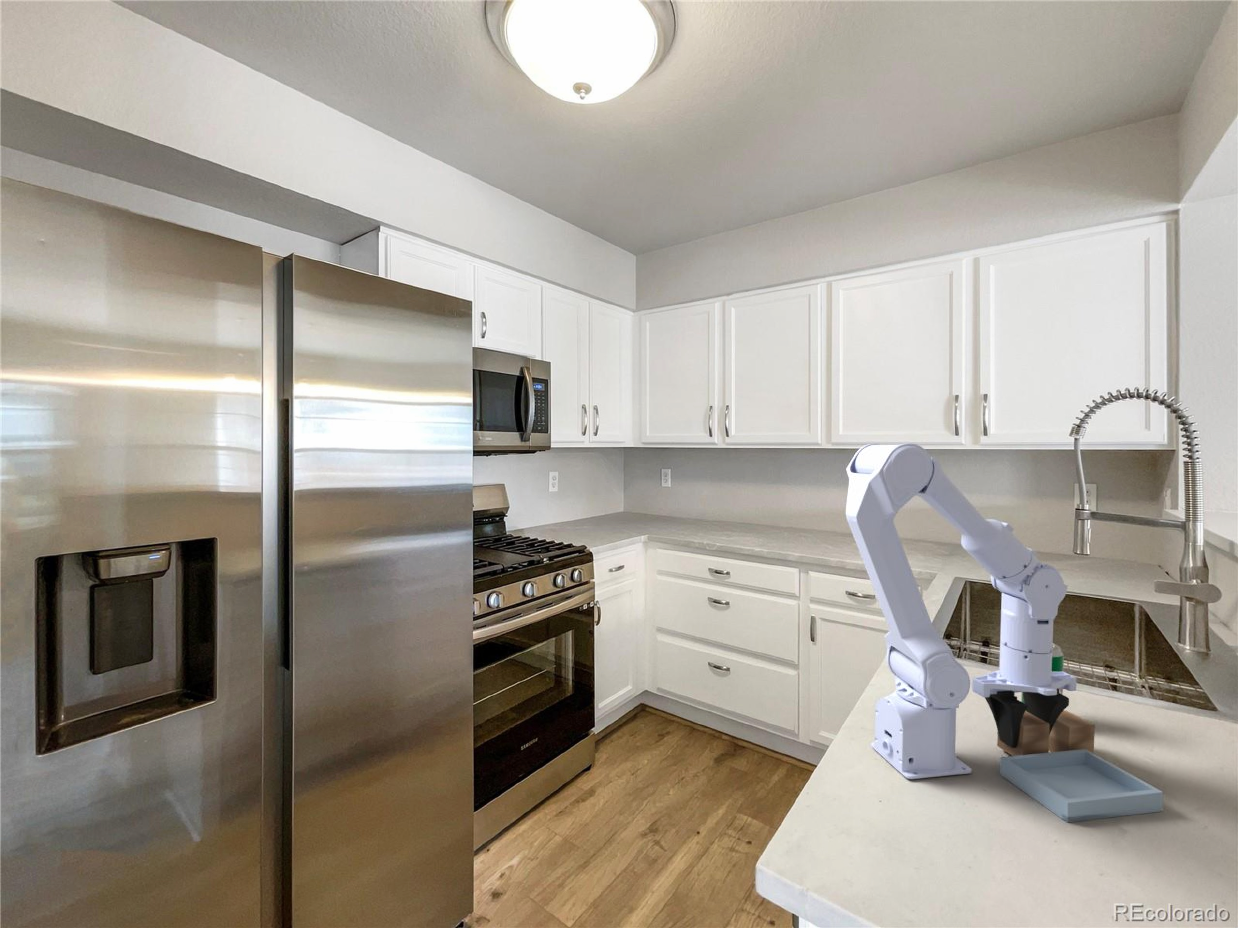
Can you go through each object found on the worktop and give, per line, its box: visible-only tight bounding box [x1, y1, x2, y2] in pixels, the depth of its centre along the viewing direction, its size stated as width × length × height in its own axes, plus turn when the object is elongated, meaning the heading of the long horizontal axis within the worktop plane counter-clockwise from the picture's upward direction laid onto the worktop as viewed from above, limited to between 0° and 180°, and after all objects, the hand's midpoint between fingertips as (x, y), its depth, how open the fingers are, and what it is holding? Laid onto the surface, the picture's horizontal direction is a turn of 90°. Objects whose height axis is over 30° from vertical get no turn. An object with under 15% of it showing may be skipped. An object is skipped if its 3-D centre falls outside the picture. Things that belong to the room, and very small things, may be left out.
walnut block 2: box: [1049, 710, 1096, 754], centre depth 75 cm, size 4×4×5 cm
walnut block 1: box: [996, 711, 1050, 756], centre depth 73 cm, size 4×4×5 cm
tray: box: [999, 749, 1164, 823], centre depth 66 cm, size 13×9×2 cm
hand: (1022, 742), depth 73 cm, fingers closed on walnut block 1, 4 cm apart
